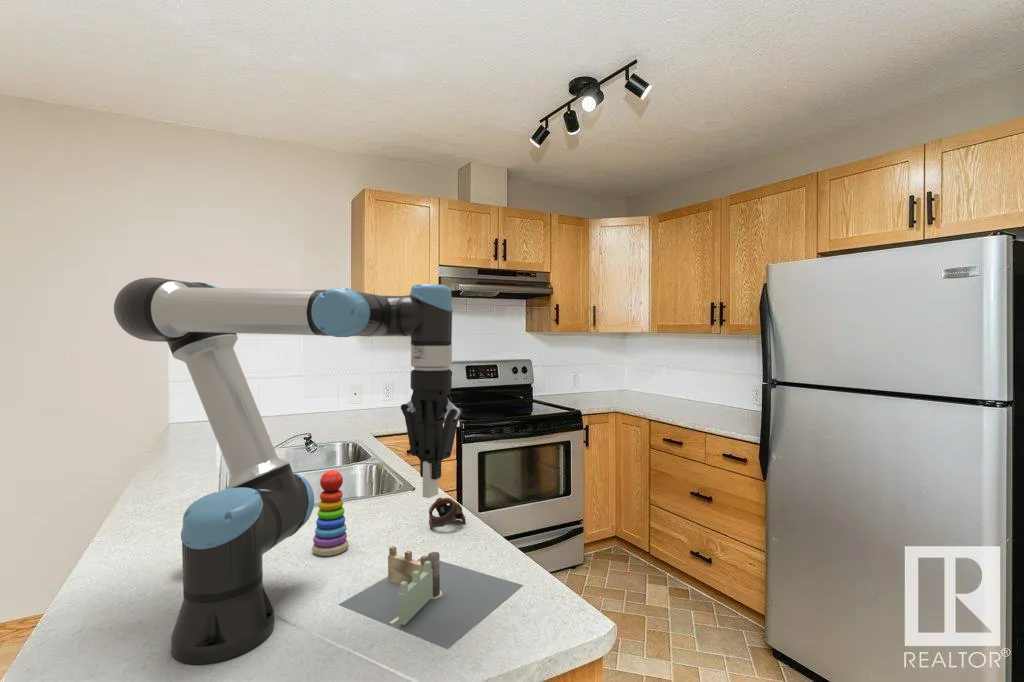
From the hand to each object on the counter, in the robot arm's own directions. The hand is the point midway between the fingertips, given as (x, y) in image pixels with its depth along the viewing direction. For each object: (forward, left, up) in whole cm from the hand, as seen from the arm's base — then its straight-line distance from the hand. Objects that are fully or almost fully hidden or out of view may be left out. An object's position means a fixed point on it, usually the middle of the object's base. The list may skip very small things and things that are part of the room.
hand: (430, 495), depth 95 cm
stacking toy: (+7, +37, -21) cm, 43 cm away
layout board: (+3, +2, -21) cm, 21 cm away
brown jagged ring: (+34, +24, -21) cm, 46 cm away
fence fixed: (+3, +7, -20) cm, 22 cm away
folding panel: (-4, +1, -20) cm, 20 cm away
